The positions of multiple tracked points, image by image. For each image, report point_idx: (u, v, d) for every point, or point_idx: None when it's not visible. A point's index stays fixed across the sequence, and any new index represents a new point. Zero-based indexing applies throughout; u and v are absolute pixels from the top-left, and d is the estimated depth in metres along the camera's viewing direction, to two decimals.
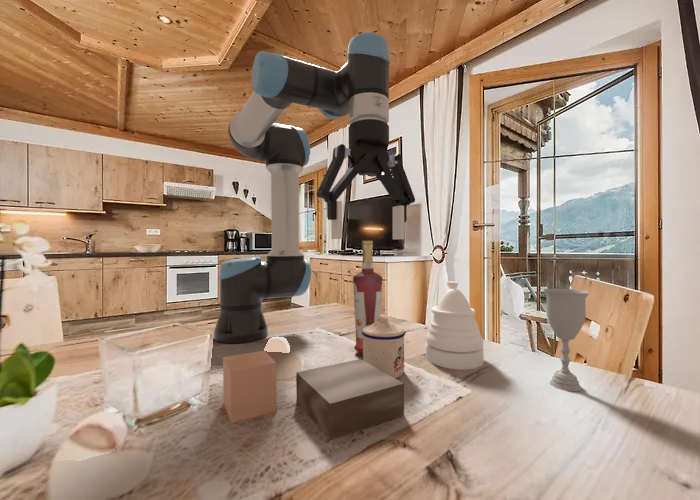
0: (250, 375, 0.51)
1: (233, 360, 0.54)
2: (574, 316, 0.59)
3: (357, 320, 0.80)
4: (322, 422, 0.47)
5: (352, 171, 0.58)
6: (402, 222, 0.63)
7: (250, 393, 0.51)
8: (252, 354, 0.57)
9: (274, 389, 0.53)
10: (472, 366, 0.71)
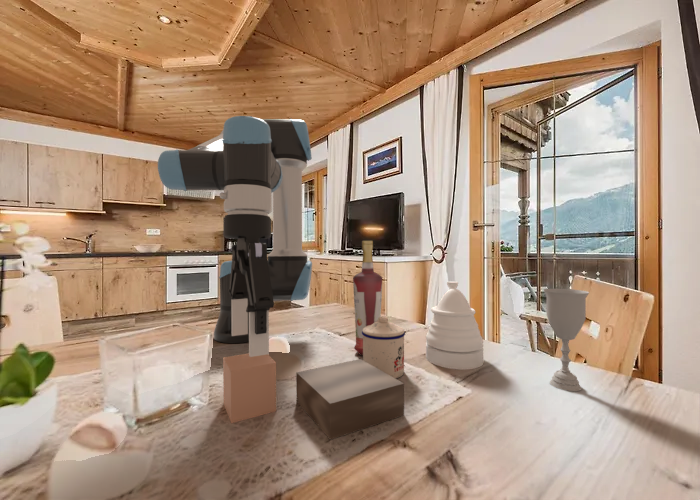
0: (250, 375, 0.51)
1: (233, 360, 0.54)
2: (574, 316, 0.59)
3: (357, 320, 0.80)
4: (322, 422, 0.47)
5: None
6: (249, 333, 0.47)
7: (250, 393, 0.51)
8: None
9: (274, 389, 0.53)
10: (472, 366, 0.71)
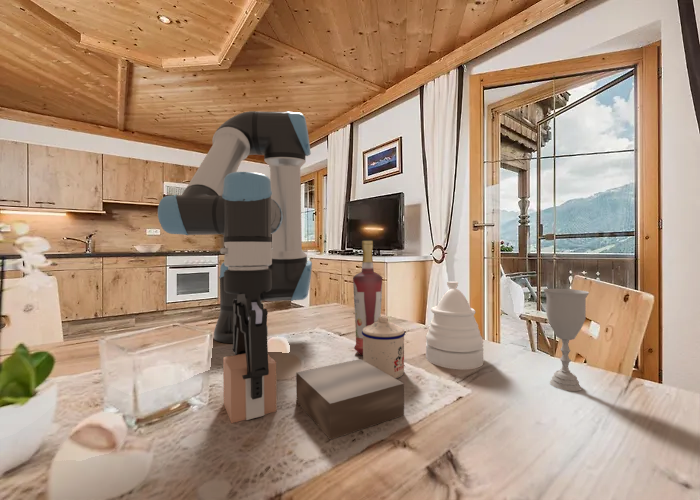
0: None
1: (233, 360, 0.54)
2: (574, 316, 0.59)
3: (357, 320, 0.80)
4: (322, 422, 0.47)
5: None
6: (245, 397, 0.50)
7: None
8: None
9: (274, 389, 0.53)
10: (472, 366, 0.71)
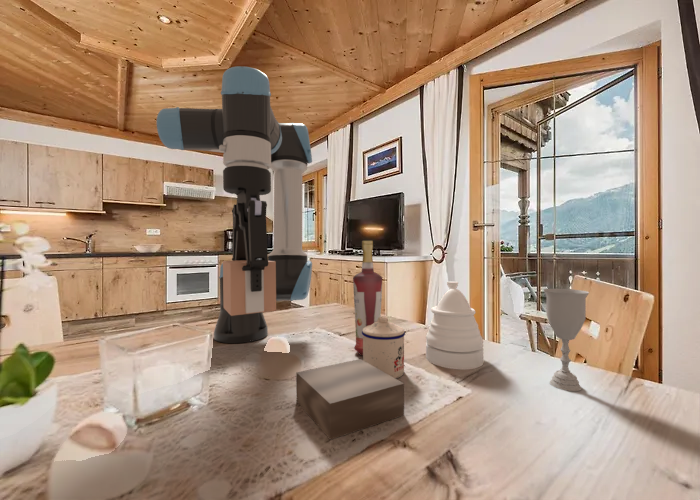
0: None
1: (233, 261, 0.54)
2: (574, 316, 0.59)
3: (357, 320, 0.80)
4: (322, 422, 0.47)
5: (236, 231, 0.56)
6: (245, 291, 0.50)
7: None
8: None
9: (274, 288, 0.53)
10: (472, 366, 0.71)
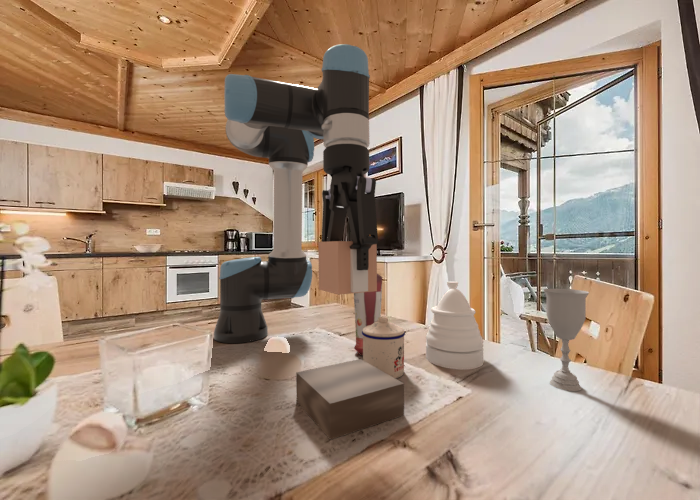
0: None
1: None
2: (574, 316, 0.59)
3: (357, 320, 0.80)
4: (322, 422, 0.47)
5: (331, 212, 0.56)
6: (351, 270, 0.50)
7: None
8: None
9: (375, 268, 0.52)
10: (472, 366, 0.71)
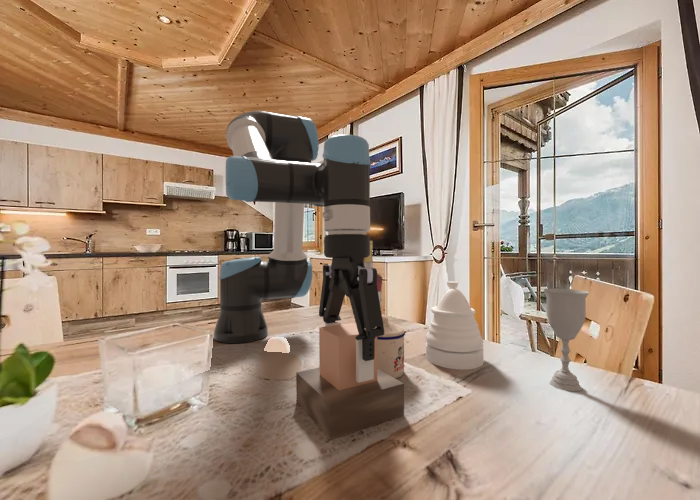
0: (355, 342, 0.51)
1: (332, 329, 0.54)
2: (574, 316, 0.59)
3: None
4: (322, 422, 0.47)
5: (330, 291, 0.56)
6: (357, 360, 0.49)
7: (355, 361, 0.51)
8: (345, 325, 0.56)
9: (375, 358, 0.52)
10: (472, 366, 0.71)
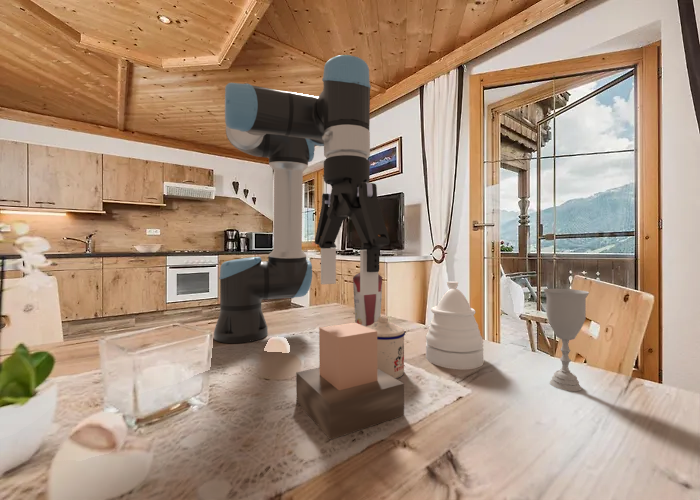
0: (355, 342, 0.51)
1: (332, 329, 0.54)
2: (574, 316, 0.59)
3: (357, 320, 0.80)
4: (322, 422, 0.47)
5: (328, 217, 0.57)
6: (361, 272, 0.47)
7: (355, 361, 0.51)
8: (345, 325, 0.56)
9: (375, 358, 0.52)
10: (472, 366, 0.71)
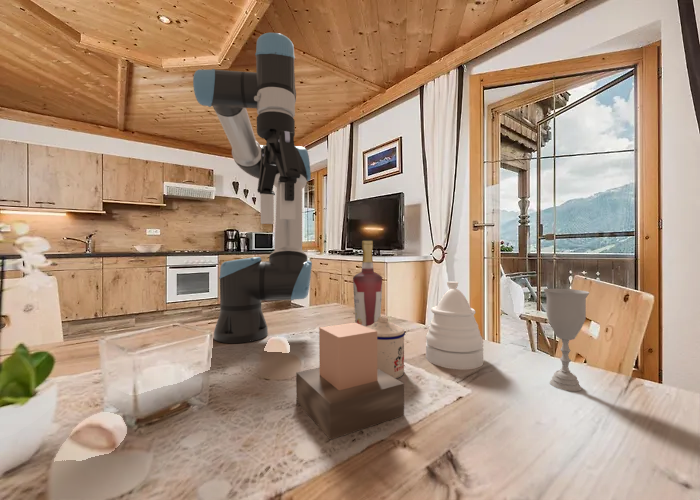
0: (355, 342, 0.51)
1: (332, 329, 0.54)
2: (574, 316, 0.59)
3: (357, 320, 0.80)
4: (322, 422, 0.47)
5: (264, 166, 0.70)
6: (280, 201, 0.60)
7: (355, 361, 0.51)
8: (345, 325, 0.56)
9: (375, 358, 0.52)
10: (472, 366, 0.71)
